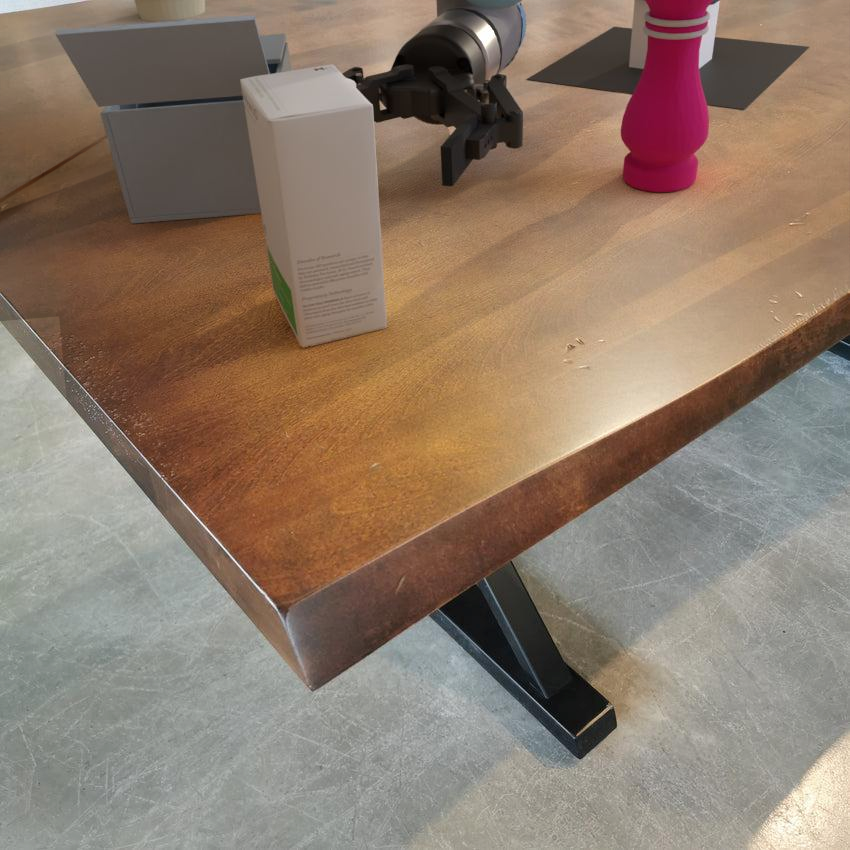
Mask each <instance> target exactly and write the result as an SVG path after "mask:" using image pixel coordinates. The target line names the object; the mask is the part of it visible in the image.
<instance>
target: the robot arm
mask: <svg viewBox="0 0 850 850" xmlns="http://www.w3.org/2000/svg"><path fill="white" fill-rule="evenodd" d="M522 1H523V0H436V1H435V2H436V17H435V18H434V19H432V20H431V21H430V22H429V23H428V24H426V25H424V26H423V27H422V28H421V29H420V31H418V32H417V33H415V35H414V36H413V37H411V38H410V39H409V40H408V41H407V42H405V43H404V44H403V46H402V47H401V48H400V49H399V51H398V53H397V55H396V56H395V58H394V61H393V63H392V66H391V68H390V70H388V71H385V72H380V73H375V74H371V75H367V76H364V69H363V68H362V67H360V66H353V67H351V68H349V69H347V70H346V71H344V72H343V73H342V72H341V73H342V74H343V76H344V77H345V78H348V79H351V80H353V81H354V82H355V83H356V88H357V89H358V90H359V91H360V92H361V94H362V95H363V96H364V97H365V98H366V99H367V100H368V101H369V102H370V103H371V104H372V105H373V114H374V123H382V122H386V121H390V120H394V119H398V118H401V119H403V120H405V119H409V118H415V119H416V120H418V121H421V122H423V123H426V124H428V125H436V126H439V125H441V126H442V125H443V126H444V127H446V128H452V127H454V128H455V129H454V130H453V132H452V133H451V134H450V135H449V136H448V137H447V138H446V139H445V141H444V142H443V144H441V146H440V163H441V164H440V167H441V168H440V169H441V185H442V187H454V185H455V184H456V183H457V181H458V180H459V179H460V177H461V176H462V175H463V174H464V172H465V171H466V169H467V168H468V167H469V166H470V164H471V163H472V162H473V160H474V161H475V160H476V161H481V160H483V159H484V158H485V157H486V156H487V155H488V153H489V152H490V151H491V150H494V149H496V148H497V147H498V144H500V143H504V145H505V146H506V147H507V148H509V149H520V148H522V147H523V139H524V111H523V110H522V108H521V107H520V105H519V104H518V102H517V100H516V99H515V98H514V96H513V95H512V94H511V92H510V91H509V89H508V88H507V80H508V79H507V78H508V77H507V75H505V74H502V72H503V70H505V69H506V68H507V67H508V66H509V65H510V64H512V62H513V61H514V60H515V58H516V56H517V54H518V53H519V49H520V48H521V46H522V44H523V42H524V40H525V36H526V32H527V15H526V12H525V9H524V6H523V4H522ZM381 104H382V105H383V106H384V108H383V109H381Z"/></svg>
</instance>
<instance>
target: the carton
mask: <svg viewBox="0 0 850 850" xmlns="http://www.w3.org/2000/svg"><path fill="white" fill-rule="evenodd" d="M259 35H260V34H259ZM260 38H261V42H262V46H263V50H264V53H265V57H266V61H267V65H268V68H269V72H270V74H273V73H280V72H286V71H293V70H292V64H291V56H290V50H289V42H288V41H286V40H287V34H286V33H276V34H275V33H274V34H262V35H260ZM100 117H101V118H100V119H101V121H102V124H103V128H104V132H105V135H106V139H107V143H108V145H109V150H110V154H111V157H112V161H113V163H114V167H115V171H116V175H117V178H118V182H119V185H120V189H121V193H122V196H123V200H124V204H125V207H126V211H127V214H128V218H129V221H130V224H145V223H159V222H168V221H169V222H171V221H181V220H182V221H183V220H195V219H196V220H197V219H205V218H206V219H208V218H219V217H220V218H221V217H230V216H231V217H233V216H243V215H244V216H245V215H257V214H261V208H260V202H259V196H258V190H257V183H256V177H255V171H254V164H253V158H252V151H251V145H250V139H249V132H248V126H247V120H246V113H245V107H244V101H243V96H231V97H218V98H205V99H192V100H179V101H166V102H154V103H141V104H128V105H115V106H103V109H102V110H101V112H100Z"/></svg>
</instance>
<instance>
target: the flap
mask: <svg viewBox="0 0 850 850" xmlns="http://www.w3.org/2000/svg"><path fill="white" fill-rule="evenodd" d="M55 37H56V38H57V40H58V42H59V43H60V45H61V46H62V49H63V51H64V52H65V53H66V55H67V57H68V58H69V61H70V62H71V64H72V65H73V66H74V69H75V70H76V72H77V74H78V76H79V77H80V78H81V80H82V82H83V84H84V85H85V87H86V89H87V90H88V92H89V94H90V96H91V97H92V99H93V100H94V102H95V104H96V105H97V107H99V108H101V107H105V106H115V105H128V104H141V103H154V102H166V101H179V100H192V99H205V98H218V97H231V96H243V95H242V89H241V83H240V79H244V78H248V77H254V76H260V75H267V74H270V72H269V68H268V65H267V61H266V57H265V53H264V50H263V46H262V42H261V38H260V31H259V28H258V23H257V20H256V15H254V14H252V15H251V14H250V15H240V16H226V17H215V18H214V17H213V18H199V19H198V18H197V19H184V20H175V21H162V22H146V23H145V22H144V23H133V24H121V25H120V24H119V25H106V26H93V27H92V26H91V27H80V28H67V29H55Z"/></svg>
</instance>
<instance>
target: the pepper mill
mask: <svg viewBox="0 0 850 850" xmlns="http://www.w3.org/2000/svg"><path fill="white" fill-rule="evenodd" d="M712 1H713V0H645V2H646V3H647V4H648V6H649V9H650V10H649V11H648V12H646V13H645V15H644V19H645V20H646V21H645V25H644V27H643V31H644V33H645V34H647V35H648V46H647V55H646V60H645V66H644V69H643V72H642V75H641V78H640V80H639V82H638V85H637V87H636V89H635V91H634V93H633V94H631V97H630V99H629V100H628V103H627V104H626V107H625V110H624V113H623V116H622V118H621V119H622V120H621V125H620V138H621V141H622V142H623V144H624V146H625V147H626V148H627V149H628V150H629V152H628V153H626V155H625V156H624V158H623V167H622V179H623V181H624V182H625V183H626V184H627V185H628V186H630V187H633V188H634V189H637V190H640V191H646V192H651V193H672V192H677V191H683V190H685V189H687V188H690V187H691V186H692V185H693V184H694V183H695V182H696V180H697V174H698V169H699V168H698V167H699V159H698V157H697V156H696V155H695V153H696V152H698V150H700V149H701V148H702V147H703V146H704V144H705V142H707V140H708V137H709V131H710V130H709V129H710V115H709V108H708V106H709V105H708V104H707V103H706V99H705V96H704V92H703V89H702V84H701V80H700V73H699V50H700V45H701V40H702V35H704V34H706V33H707V32H708V30H709V27H708V20H709V19H710V13H709V12H708V11H706V9H707V7H708V6H709V5H710V3H711V2H712Z"/></svg>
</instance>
